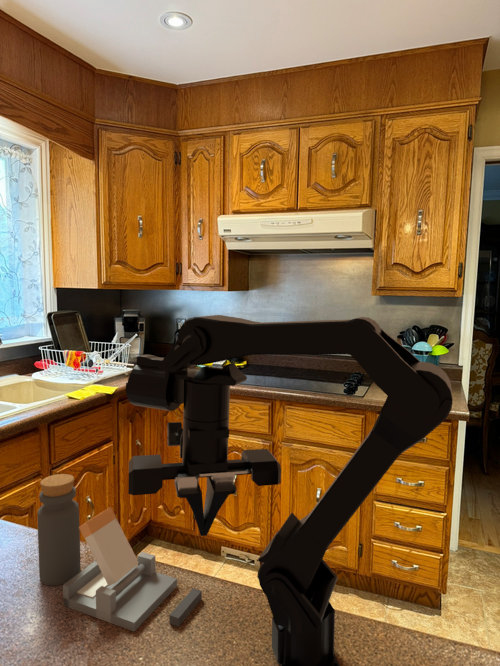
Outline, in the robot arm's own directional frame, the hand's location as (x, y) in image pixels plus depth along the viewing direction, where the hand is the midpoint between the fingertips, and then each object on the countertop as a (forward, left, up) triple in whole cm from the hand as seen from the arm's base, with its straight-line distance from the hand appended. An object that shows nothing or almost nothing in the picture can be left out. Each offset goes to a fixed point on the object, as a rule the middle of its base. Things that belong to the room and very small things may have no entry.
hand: (203, 534), depth 59 cm
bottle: (+20, -15, -12) cm, 28 cm away
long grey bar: (+2, -3, -12) cm, 13 cm away
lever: (+10, -8, -10) cm, 16 cm away
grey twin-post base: (+10, -8, -12) cm, 17 cm away
